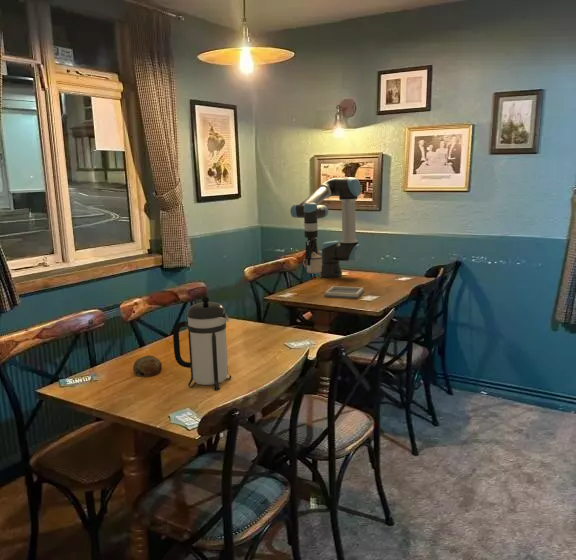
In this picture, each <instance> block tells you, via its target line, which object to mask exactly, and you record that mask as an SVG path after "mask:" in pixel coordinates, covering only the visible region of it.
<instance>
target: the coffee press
mask: <svg viewBox="0 0 576 560" xmlns="http://www.w3.org/2000/svg"><path fill="white" fill-rule="evenodd" d="M201 301H202V302H197V303H194V304H192V305H191V306H189V308H188V310H187V312H186V318H187V320H184V321H180V322H178V323H177V324H176V325H175V326H174V328H173V331H172V335H173V336H172V341H173V352H174V358H175V361H176V362H177V363H178V365H179V366H180V367H183V368H187V369H190V380H189V382H188V383H187V385H188V387H189V389H193V388H194V387H195V386H196V385H197V384H198V385H204V386H205V385H206V386H208V385H209V386H211V385H213V389H214V391H218V390H219V391H220V389H221V388H220V386H221V385H220V383H222V382H224V381H225V380H229V381H230V380H231V379H232V375H230V373H229V370H228V368H229V367H228V353H227V352H228V349H227V348H228V347H227V329H226V328H227V323H228V322H229V321H230V320H229V317H228V315H227V310H226V309H225V308H224V306H223V305H222V304H221V303H218V302H214V301H210V298H209V296H203V297H202V298H201ZM185 327H187V331H188V347H189V349H188V350H189V361H185V360H184V359H183V358H182V356H181V348H180V347H181V345H180V343H181V342H180V330H181V329H182V328H185ZM228 375H229V377H228ZM192 382H193V383H192Z"/></svg>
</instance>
